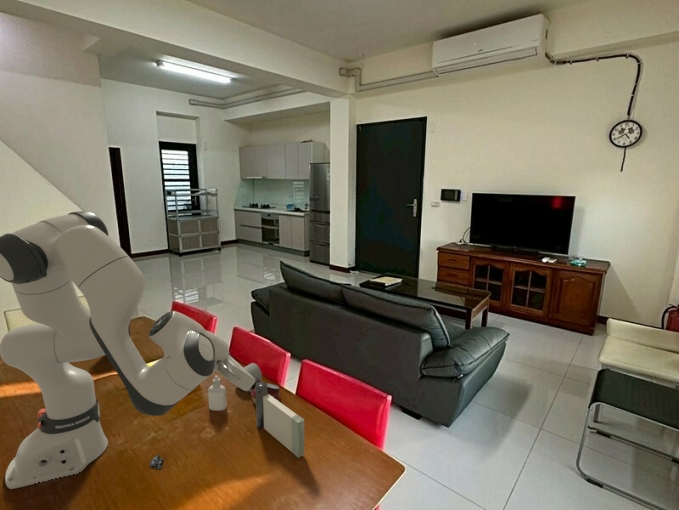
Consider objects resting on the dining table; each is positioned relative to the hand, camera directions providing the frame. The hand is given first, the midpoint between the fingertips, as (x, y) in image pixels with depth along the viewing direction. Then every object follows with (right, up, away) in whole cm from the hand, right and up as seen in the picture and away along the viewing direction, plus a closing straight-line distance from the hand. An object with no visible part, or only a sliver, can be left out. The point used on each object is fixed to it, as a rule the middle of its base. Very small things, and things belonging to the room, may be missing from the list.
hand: (246, 377), depth 100 cm
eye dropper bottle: (-16, -19, +25) cm, 36 cm away
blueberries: (-24, -24, +1) cm, 34 cm away
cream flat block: (+9, -22, +9) cm, 25 cm away
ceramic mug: (-8, -17, +39) cm, 43 cm away
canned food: (-1, -18, +32) cm, 37 cm away
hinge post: (+1, -21, +17) cm, 27 cm away
